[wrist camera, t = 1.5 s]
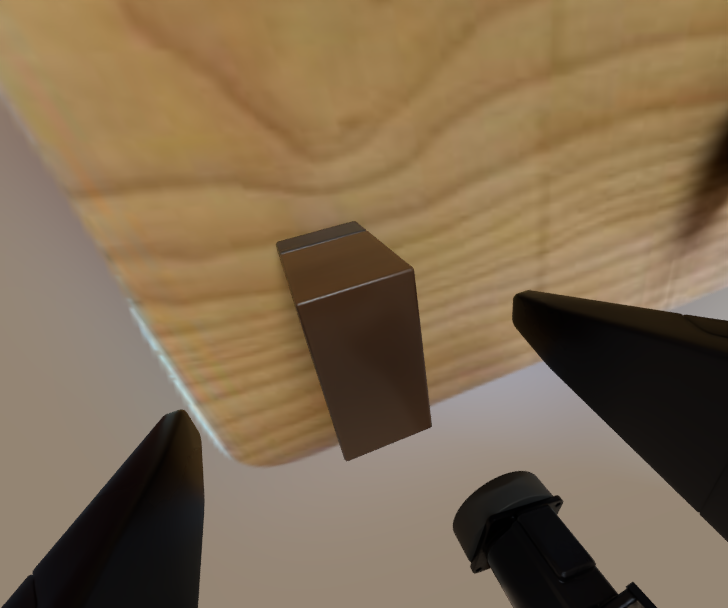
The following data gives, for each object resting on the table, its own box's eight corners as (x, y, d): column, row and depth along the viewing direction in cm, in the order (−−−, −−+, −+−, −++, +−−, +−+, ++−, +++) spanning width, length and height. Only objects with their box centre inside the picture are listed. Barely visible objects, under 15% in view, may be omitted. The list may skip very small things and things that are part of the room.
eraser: (379, 344, 14) (433, 428, 10) (315, 366, 13) (345, 463, 9) (355, 219, 11) (415, 267, 7) (275, 241, 11) (294, 304, 7)
